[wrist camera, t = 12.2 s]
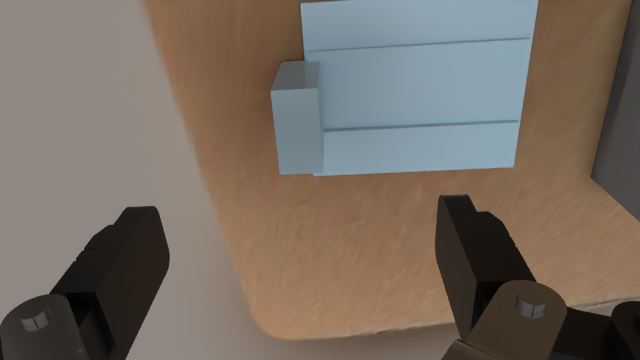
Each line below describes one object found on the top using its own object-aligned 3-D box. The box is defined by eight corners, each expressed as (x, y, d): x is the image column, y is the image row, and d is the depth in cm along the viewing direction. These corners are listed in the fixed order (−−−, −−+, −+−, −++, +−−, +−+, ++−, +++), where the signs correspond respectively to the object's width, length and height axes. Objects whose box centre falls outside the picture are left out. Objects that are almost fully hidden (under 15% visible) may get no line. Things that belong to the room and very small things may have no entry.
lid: (277, 2, 23) (262, 21, 18) (533, -14, 23) (595, 0, 17) (294, 170, 28) (285, 225, 23) (508, 160, 27) (551, 214, 22)
